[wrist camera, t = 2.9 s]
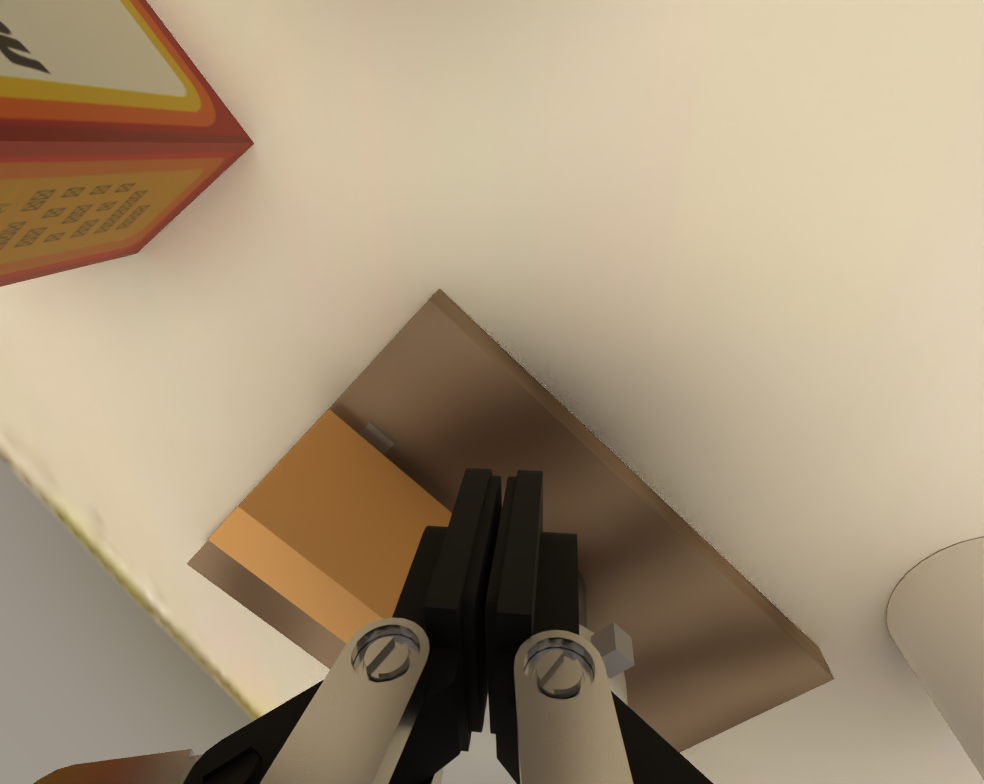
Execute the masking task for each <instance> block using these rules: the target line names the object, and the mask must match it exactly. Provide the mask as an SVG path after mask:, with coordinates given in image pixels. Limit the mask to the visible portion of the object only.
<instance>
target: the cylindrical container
mask: <svg viewBox="0 0 984 784" xmlns="http://www.w3.org/2000/svg"><path fill="white" fill-rule="evenodd" d="M887 626H888V629H889V632H890V635H891V637H892V639H893V640H894V642H895V643H896V645H897V646H898V648H899V649H900V651H901V653H902V654H903V656H904V657H905V659H906V660H907V662H908V663H909V665H910V666H911V668H912V670H913V671H914V673H915V674H916V676H917V677H918V679H919V680H920V682H921V683H922V685H923V687H924V688H925V690H926V691H927V693H928V694H929V696H930V697H931V699H932V700H933V702H934V704H935V705H936V707H937V708H938V710H939V711H940V713H941V714H942V716H943V717H944V719H945V720H946V722H947V724H948V725H949V727H950V728H951V730H952V731H953V733H954V734H955V736H956V737H957V739H958V741H959V742H960V744H961V745H962V747H963V748H964V750H965V751H966V753H967V754H968V756H969V758H970V759H971V761H972V762H973V764H974V765H975V767H976V768H977V770H978V771H979V773H980V775H981V776H982V778H983V779H984V537H982V538H977V539H973V540H969V541H965V542H961V543H959V544H956V545H954V546H951V547H949V548H946V549H944V550H941V551H939V552H937V553H936V554H934V555H932V556H930V557H929V558H927V559H925V560H924V561H922V562H921V563H919V564H918V565H917V566H916V567H915V568H913V569H912V570H911V571H910V572H909V573H907V574H906V576H905V577H904V578H903V579H902V580H901V582H900V583H899V584H898V585H897V586H896V588H895V590H894V592H893V594H892V596H891V598H890V600H889V604H888V608H887Z"/></svg>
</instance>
